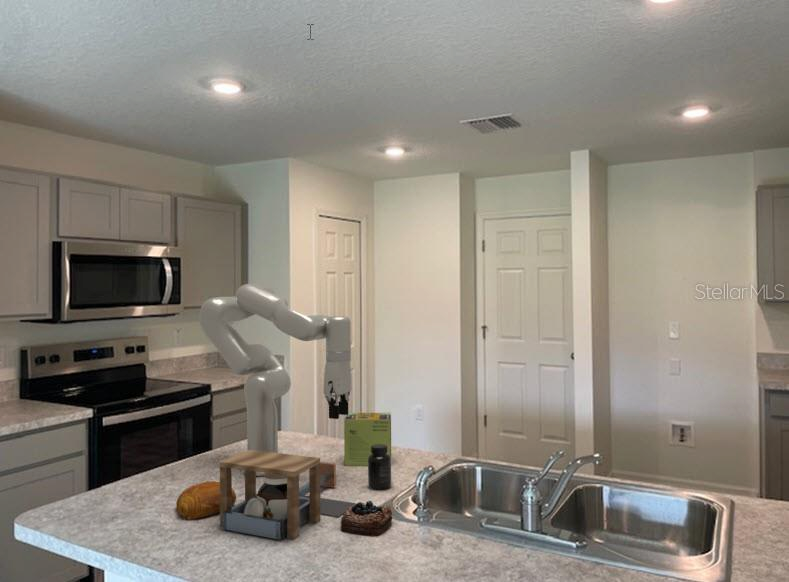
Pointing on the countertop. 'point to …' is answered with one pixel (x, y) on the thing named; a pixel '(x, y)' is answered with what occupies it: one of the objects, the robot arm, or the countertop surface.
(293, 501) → the walnut table
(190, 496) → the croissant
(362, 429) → the protein box
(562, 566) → the countertop surface
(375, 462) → the supplement bottle
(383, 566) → the countertop surface
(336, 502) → the pit mat
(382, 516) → the pastry
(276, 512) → the spread jar
